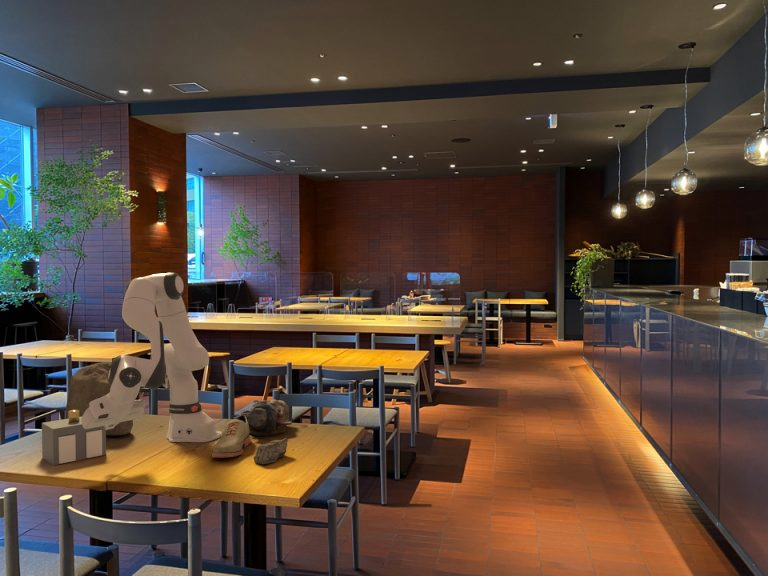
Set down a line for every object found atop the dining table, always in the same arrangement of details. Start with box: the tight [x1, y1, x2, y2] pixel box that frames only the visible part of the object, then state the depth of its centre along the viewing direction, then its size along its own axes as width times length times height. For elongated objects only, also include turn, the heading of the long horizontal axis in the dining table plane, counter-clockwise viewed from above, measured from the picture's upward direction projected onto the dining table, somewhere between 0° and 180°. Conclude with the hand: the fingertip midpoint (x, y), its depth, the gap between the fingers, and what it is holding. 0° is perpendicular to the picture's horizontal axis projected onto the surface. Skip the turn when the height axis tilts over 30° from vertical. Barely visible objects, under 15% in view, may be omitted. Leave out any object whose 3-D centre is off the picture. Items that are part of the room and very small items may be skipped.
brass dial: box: [68, 410, 79, 423], centre depth 222 cm, size 4×4×4 cm
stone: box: [64, 361, 134, 437], centre depth 260 cm, size 25×34×30 cm
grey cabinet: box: [41, 416, 107, 466], centre depth 222 cm, size 13×18×13 cm
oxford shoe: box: [211, 414, 252, 459], centre depth 228 cm, size 11×32×12 cm, turn 3°
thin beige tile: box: [58, 434, 77, 465], centre depth 218 cm, size 12×5×9 cm, turn 45°
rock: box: [253, 437, 288, 465], centre depth 217 cm, size 17×7×10 cm
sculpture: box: [240, 398, 292, 438], centre depth 255 cm, size 25×21×14 cm
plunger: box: [85, 430, 103, 459], centre depth 225 cm, size 12×5×9 cm, turn 45°
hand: (108, 427), depth 212 cm, fingers closed
